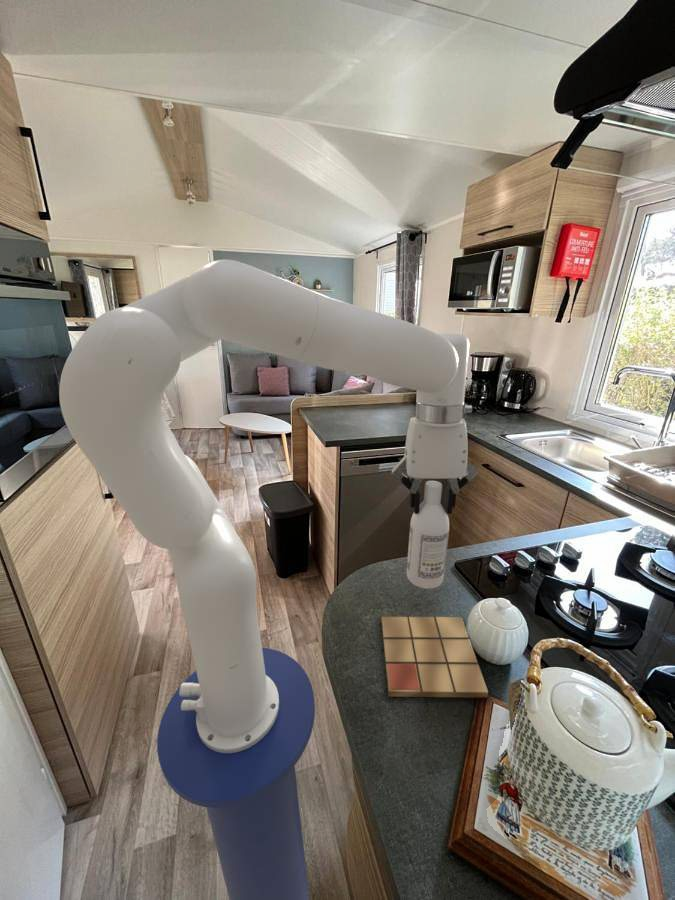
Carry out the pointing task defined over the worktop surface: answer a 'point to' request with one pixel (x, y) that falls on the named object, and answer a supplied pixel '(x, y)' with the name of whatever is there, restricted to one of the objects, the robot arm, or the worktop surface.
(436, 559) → the bath foam
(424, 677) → the grid board
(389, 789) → the worktop surface
